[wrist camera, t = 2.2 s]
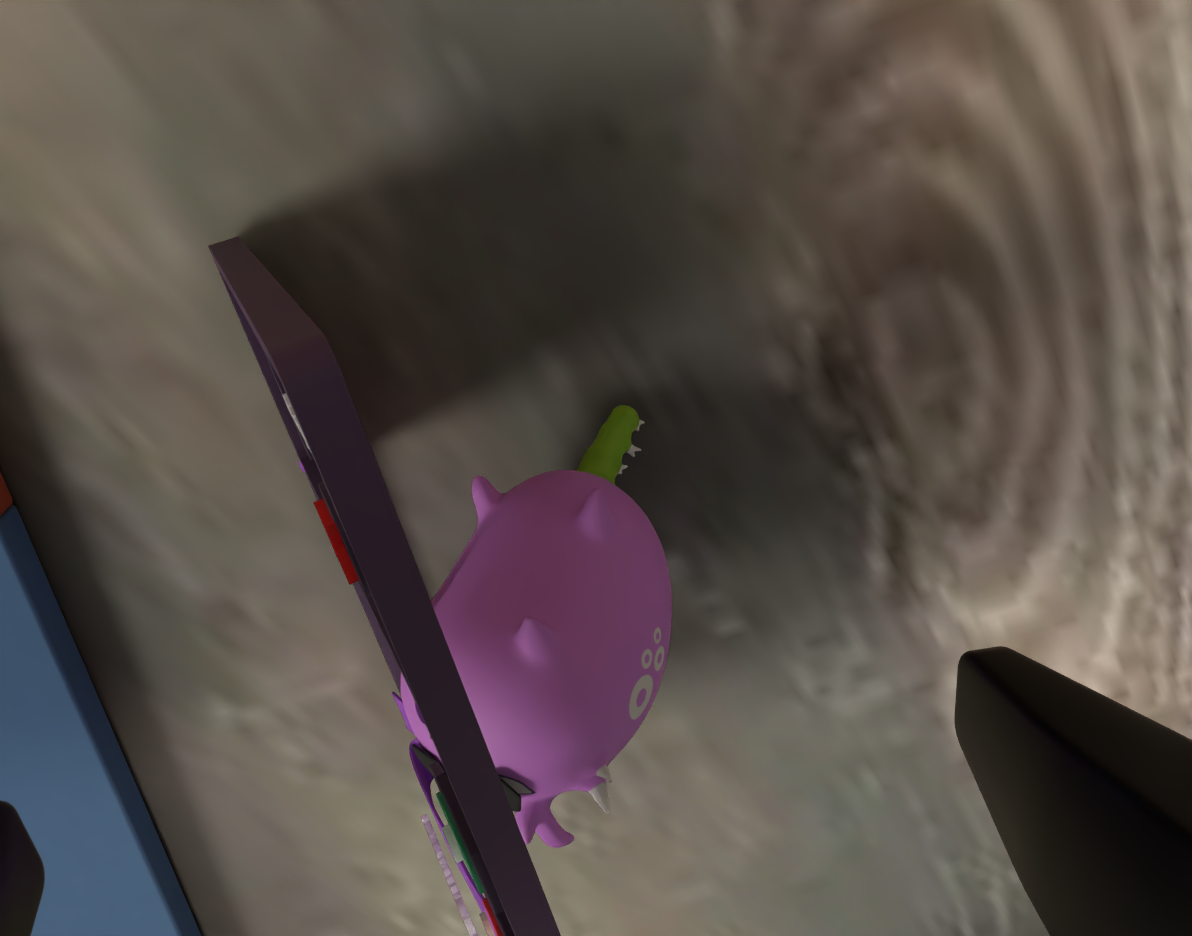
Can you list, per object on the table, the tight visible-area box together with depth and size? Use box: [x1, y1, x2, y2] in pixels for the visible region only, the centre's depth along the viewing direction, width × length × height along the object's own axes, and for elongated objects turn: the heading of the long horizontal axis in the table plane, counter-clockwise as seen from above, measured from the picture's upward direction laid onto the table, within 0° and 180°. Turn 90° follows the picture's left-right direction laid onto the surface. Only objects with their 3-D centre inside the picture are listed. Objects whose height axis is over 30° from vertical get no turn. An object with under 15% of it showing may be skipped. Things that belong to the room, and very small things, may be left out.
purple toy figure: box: [209, 237, 672, 936], centre depth 11 cm, size 7×5×9 cm
